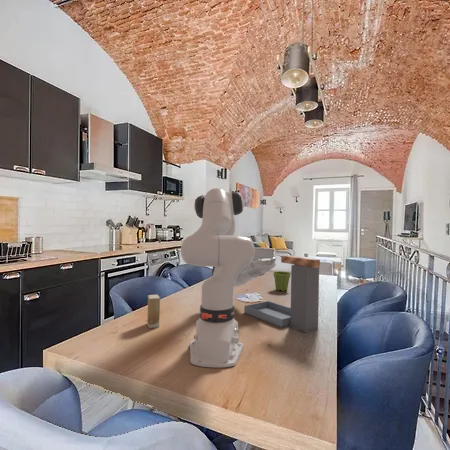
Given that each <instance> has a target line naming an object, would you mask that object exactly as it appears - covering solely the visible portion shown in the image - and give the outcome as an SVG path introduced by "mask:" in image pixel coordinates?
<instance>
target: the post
mask: <svg viewBox="0 0 450 450" xmlns="http://www.w3.org/2000/svg"><path fill="white" fill-rule="evenodd" d="M290 266H291V267H290V268H291V271H290V273H291V275H290V308H291V317H290V326H289V327H291V328H293V329H296V330H298V331H301V332H303V333H309V332H311V331H315V330H317V329H319V306H320V305H319V299H320V298H319V295H320V267H317V268H313V267H307V266H301V265H294V264H290Z"/></svg>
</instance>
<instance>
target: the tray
mask: <svg viewBox="0 0 450 450" xmlns="http://www.w3.org/2000/svg"><path fill="white" fill-rule="evenodd" d="M243 312H244V314H246V315H249V316H251V317H254V318H257V319H259V320H262V321H264V322H266V323H269V324H272V325H274V326H276V327H278V328H286V327H290V317H291V307H289V306H286V305H283V304H279V303H276V302H273V301H271V300H270V301H269V300H265V301H261V302H256V303H253V304H246V305H244V311H243Z"/></svg>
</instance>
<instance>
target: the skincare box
mask: <svg viewBox="0 0 450 450" xmlns="http://www.w3.org/2000/svg"><path fill="white" fill-rule="evenodd" d="M160 304H161V297H160V296H159V294H148V295H147V317H146V318H147V324H146V325H147V327H148V328H149V329H153V328H154V329H155V328H160V313H161V312H160V308H161V305H160Z"/></svg>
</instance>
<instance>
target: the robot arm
mask: <svg viewBox="0 0 450 450" xmlns="http://www.w3.org/2000/svg"><path fill="white" fill-rule="evenodd" d="M193 207H194V211H195V215H196V216H197V217H198V218H199V219H201V220H202V221H201V225H200V227H199V228H198V229H197V230H196V231H195V232H194V233H192V234H191V235H189V236H186V238H185V239H184V240H183V241H182V243H181V246H180V255H181V258H182V260H183V261H184V263H186V265H191V266H195V267H212V270H211V276H209V277H208V278H207V279H205V280H204V281H203V283H202V285H201V304H200V307H199V318H198V319H197V320H196V322H195V334H194V335H193V339H194V340H191V341H190V342H189V357H190V359H189V361H190V364H191V365H194V366H197V367H202V368H203V367H204V368H214V369H215V368H219V369H221V368H230V367H233V366H236V364H237V363H238V360H239V358H240V356H241V353H242V352H243V350H244V343H243V342H241V341H239V338H240V337H239V333H240V332H239V331H240V330H239V322H238V320H236V319H235V306H234V292H235V291H234V290H235V288H237V287H241V286H244V285H245V284H247V283H248V282H251V281H252V280H254V279H256V278H258V277H261V276H264V275H266V274H267V272H269V271H271V270H272V269H273V268H275V267H276V266H277V263H276V261H277V259H276V257H272V258H270V259H262V258H258V259H256V260H254V257H255V254H256V248H255V245H254V242H253V241H252V240H251V238H249V237H246V236H241V235H237V234H236V235H235V231H236V220H235V216H238V215H240V214H242V212H243V211H244V208H245V201H244V198H243V196H242V194H241V193H240V192H239V191H231V192H229V191H228V192H225V190H224V189H222V188H220V187H219V188H212V189H209V190H208V191H207V192H206V194H205V195H204V194H202V195H200V196H197V197H196V198H195V201H194V206H193Z"/></svg>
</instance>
